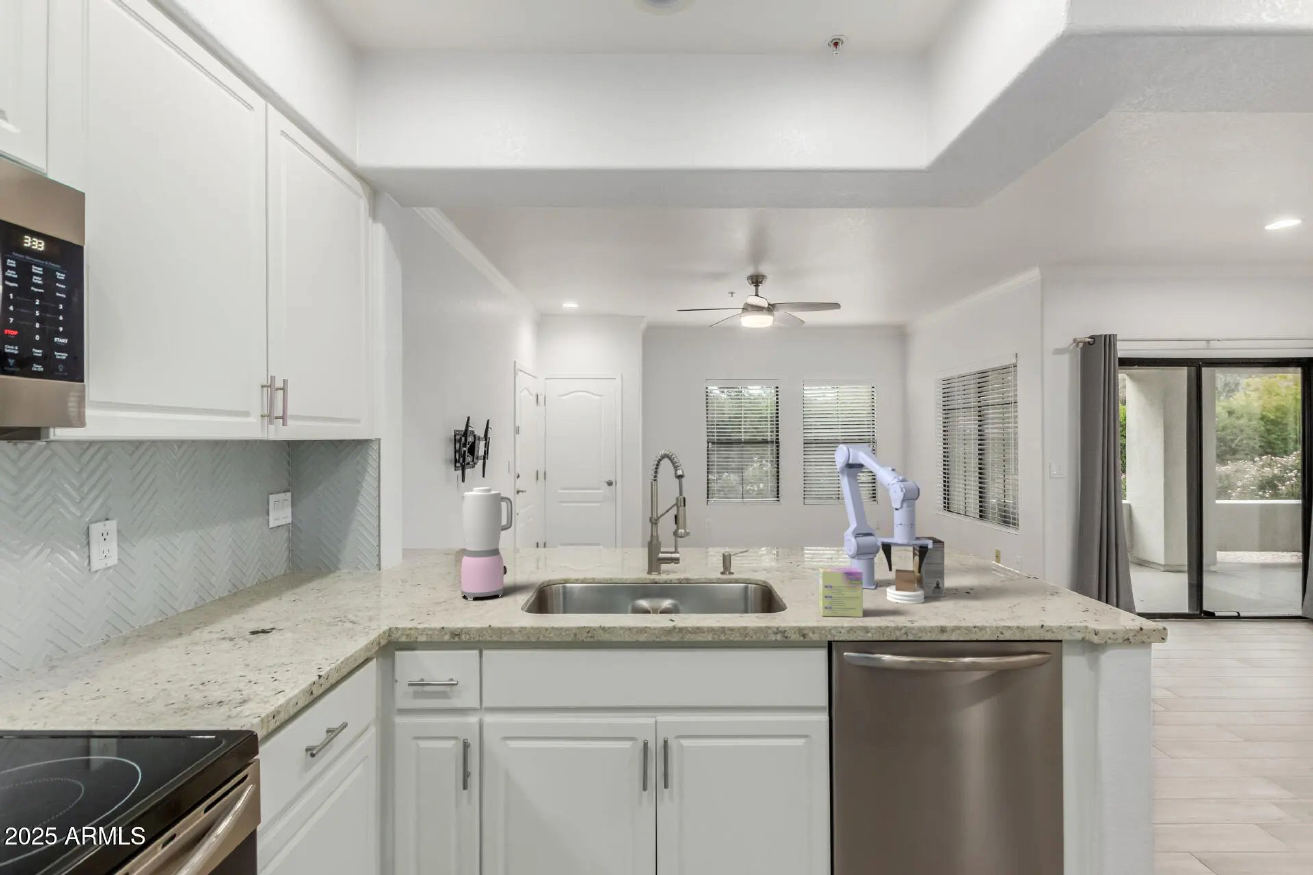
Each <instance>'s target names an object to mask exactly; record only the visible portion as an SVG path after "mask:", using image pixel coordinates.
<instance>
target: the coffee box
mask: <svg viewBox="0 0 1313 875" xmlns="http://www.w3.org/2000/svg"><path fill="white" fill-rule="evenodd" d="M915 538H916V539H922V540H932V546H933V547H932V548H928V552H927V554H926V556H925V558H924V561H923V564H922V568H921V574H919V573H918V565H919V547H912V570H915V587H917V588H921V589H922V590H923V591H924V594H923V595H924V598H925V597H932V598H933V597H942V598H943V597H945V540H942V539H939V538H937V537H934V536H915Z"/></svg>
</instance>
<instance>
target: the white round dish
mask: <svg viewBox="0 0 1313 875" xmlns="http://www.w3.org/2000/svg"><path fill="white" fill-rule="evenodd" d="M923 594H924V591H923V590H922V589H921V588H917V587H915V592H910V591H897V590H895V585H890V586H888V587H886V600H887V601H889V600H890V601H889V602H891V601H892V603H895V602H898V603H897V604H901V603H903V605H919V603H920V604H923V603H925V599H924V598H925V597H924V595H923ZM922 602H923V603H922Z"/></svg>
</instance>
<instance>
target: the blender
mask: <svg viewBox="0 0 1313 875" xmlns="http://www.w3.org/2000/svg"><path fill="white" fill-rule="evenodd" d="M460 496H461V497H462V505H461V508H462V509H461V513H462V514H461V515H462V516H461V520H462V522H461V523H462V533H463V540H464V544H465V545H464V546H465V552H464V556H463V557H462V559H461V568H460V569H461V570H460V572H461V573H460V574H461V575H460V577H461V578H460V579H461V580H460V582H461V589H460V593H461V594H460V595H461V596H462V595H465V596H464V597H466V599H467V598H470V599H473V598H474V599H475V598H478V597H479V598H480V597H490V596H495V595H497V596H498V595H499V596H500V595H503V594H504V591H505V590H504V589H505V588H504V576H505V575H507V572H508V568H507V566H506V565H504V559H503V557H502V555H501V552H500V549H499V548H500V541H501V533H502V532H504V531H507V530H510V529H511V528H512V526H513V501H512V499H511V498H510V497H508V496H505V495H504V496H503V495H502V494H501V491H497V490H495V491H493V490H492V488H491V487H485V486H483V487H473V488H472V491H468V492H464V493H462V494H460ZM502 503H505V505H506V523H505V524H502V522H503V521H502V520H503V519H502V518H503V515H502V513H503V512H502V511H503V510H502V509H503V508H502Z"/></svg>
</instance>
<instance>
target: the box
mask: <svg viewBox="0 0 1313 875" xmlns="http://www.w3.org/2000/svg"><path fill="white" fill-rule="evenodd" d="M863 589H864V588H863V572H862V571H861V570H860V569H859V568H850V567H828V566H827V567H826V566H825V567H824V566H823V567H822V566H821V567H820V566H819V567H818V611H819V613H820V614H821V616H822V617H846V618H847V617H851V618H863V617H864V615H863V614H864V612H863V611H864V609H863V607H864V605H863V603H864V598H863V592H864V590H863Z"/></svg>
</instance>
